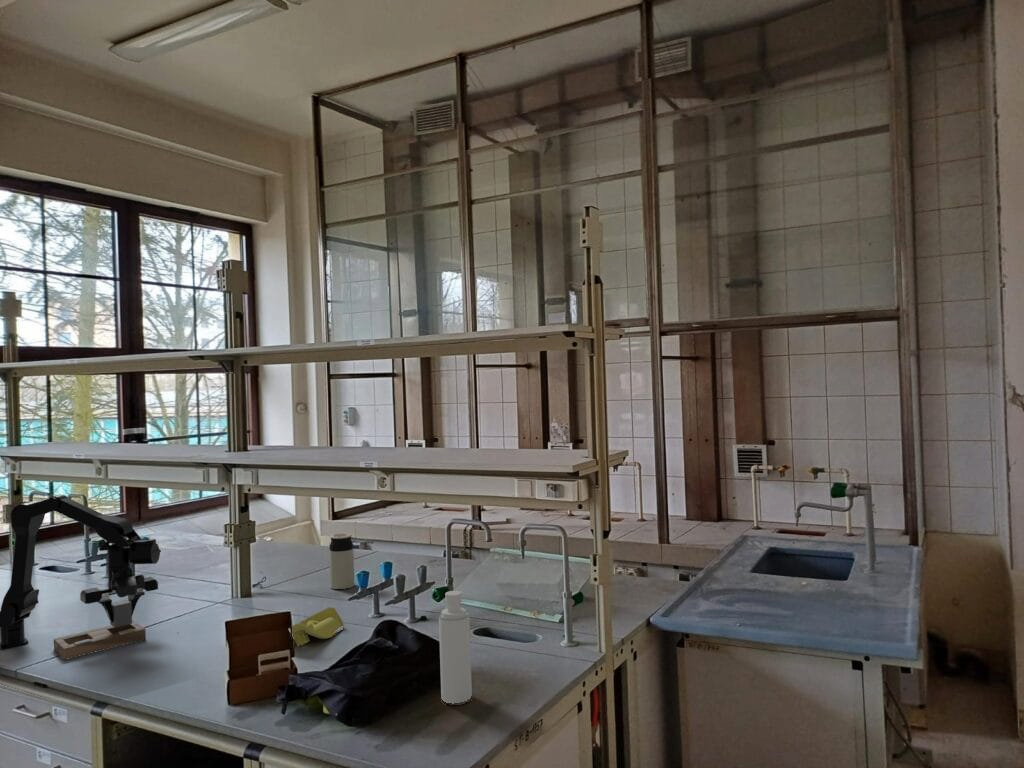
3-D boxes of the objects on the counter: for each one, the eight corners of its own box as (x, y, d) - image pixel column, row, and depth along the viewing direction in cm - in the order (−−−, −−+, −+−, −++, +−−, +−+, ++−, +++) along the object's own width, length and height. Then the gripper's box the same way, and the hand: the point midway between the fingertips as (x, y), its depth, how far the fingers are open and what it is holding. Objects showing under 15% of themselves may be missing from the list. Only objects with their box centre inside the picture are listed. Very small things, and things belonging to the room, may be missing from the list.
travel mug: (333, 591, 248) (331, 538, 248) (328, 585, 256) (327, 534, 255) (356, 588, 252) (355, 535, 251) (351, 582, 259) (350, 531, 259)
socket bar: (54, 649, 200) (53, 637, 200) (133, 630, 214) (132, 619, 214) (64, 660, 192) (63, 647, 192) (145, 639, 206) (145, 627, 206)
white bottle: (464, 690, 165) (460, 579, 165) (477, 701, 159) (473, 586, 159) (436, 697, 162) (433, 584, 162) (448, 708, 156) (445, 591, 156)
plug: (110, 624, 207) (109, 602, 207) (127, 620, 210) (126, 599, 210) (114, 627, 204) (114, 606, 204) (132, 623, 207) (131, 602, 207)
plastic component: (307, 618, 214) (336, 603, 212) (317, 641, 212) (346, 627, 211) (272, 636, 194) (303, 620, 193) (283, 662, 193) (315, 647, 192)
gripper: (90, 576, 194) (92, 635, 194) (164, 563, 207) (165, 618, 207) (78, 569, 202) (80, 626, 202) (150, 557, 215) (152, 610, 215)
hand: (121, 620), depth 207 cm, fingers closed on plug, 4 cm apart
